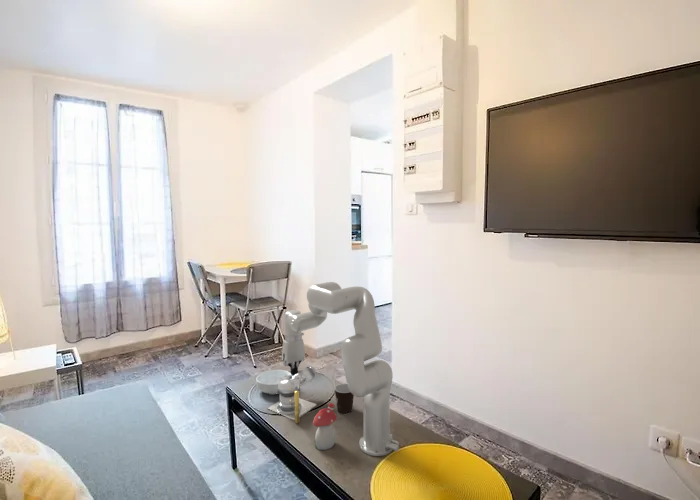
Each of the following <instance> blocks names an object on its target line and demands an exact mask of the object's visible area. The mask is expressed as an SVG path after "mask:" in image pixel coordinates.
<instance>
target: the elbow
mask: <svg viewBox="0 0 700 500" xmlns="http://www.w3.org/2000/svg"><path fill="white" fill-rule="evenodd" d="M316 373H317V372H316V370H315V368H314V366H307V367H306V368H304V369H302V370H301V371H298V373H297V374H295V375H293V376H292V375H289V376H283V377H281V378H280V379H279V380H278V394H277V395H279V396H280V395H281V396H294V391H295V390H298V391H299V393H301V388H300V386H302V385H303V384H305V383H306V382H308V381H310V380H313V379H314V378H315V377H316Z"/></svg>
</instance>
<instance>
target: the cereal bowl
mask: <svg viewBox="0 0 700 500" xmlns="http://www.w3.org/2000/svg"><path fill="white" fill-rule="evenodd" d="M289 375H291V371H287V370H284V369H273V370H267V371H264V372H262V373H259V374H258V375H257V376H256V378H255V381H256V383H255V384H256V387H257V388H258V390H259V391H260V392H262V393H264V394H268V393H269V394H268V395H277V394H276V393H278V380H279V379H280V378H281V377H283V376H289Z"/></svg>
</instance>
